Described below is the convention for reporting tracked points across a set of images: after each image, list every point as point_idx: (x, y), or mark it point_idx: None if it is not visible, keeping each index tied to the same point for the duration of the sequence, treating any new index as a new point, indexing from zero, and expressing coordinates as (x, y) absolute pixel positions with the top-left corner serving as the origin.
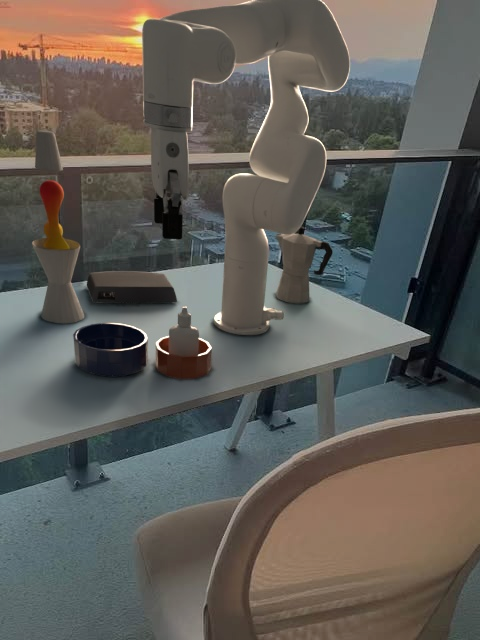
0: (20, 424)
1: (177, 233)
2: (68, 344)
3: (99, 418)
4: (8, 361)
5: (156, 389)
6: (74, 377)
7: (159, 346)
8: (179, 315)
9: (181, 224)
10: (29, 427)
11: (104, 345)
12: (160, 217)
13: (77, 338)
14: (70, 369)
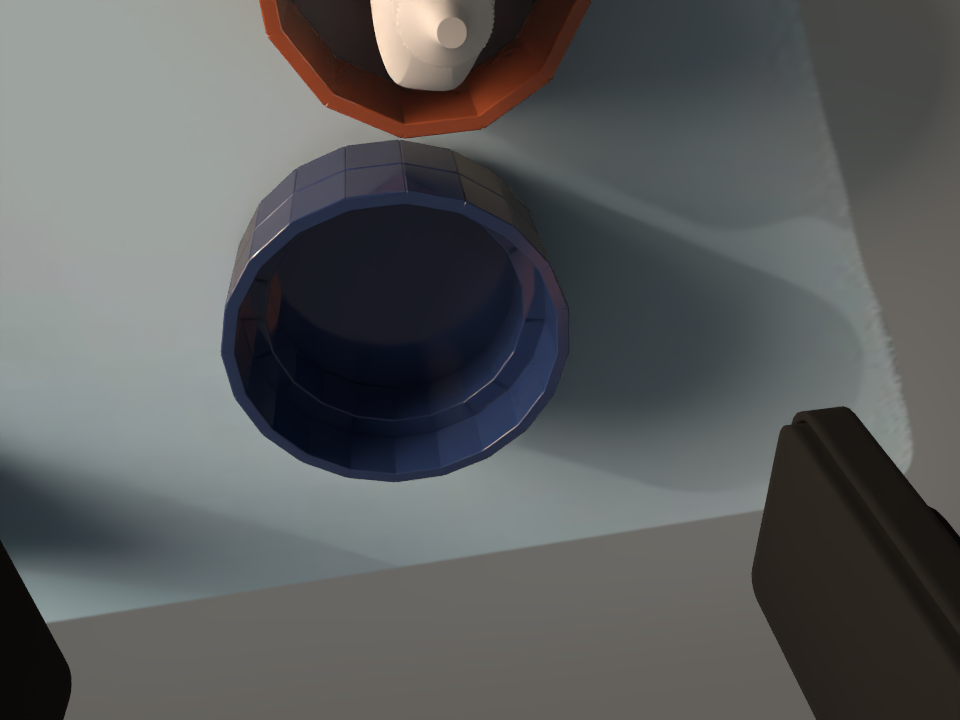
0: None
1: (932, 509)
2: (217, 439)
3: (833, 303)
4: (396, 567)
5: (653, 104)
6: None
7: (384, 107)
8: (470, 59)
9: (954, 558)
10: None
11: (276, 332)
12: (31, 706)
13: (377, 455)
14: None
